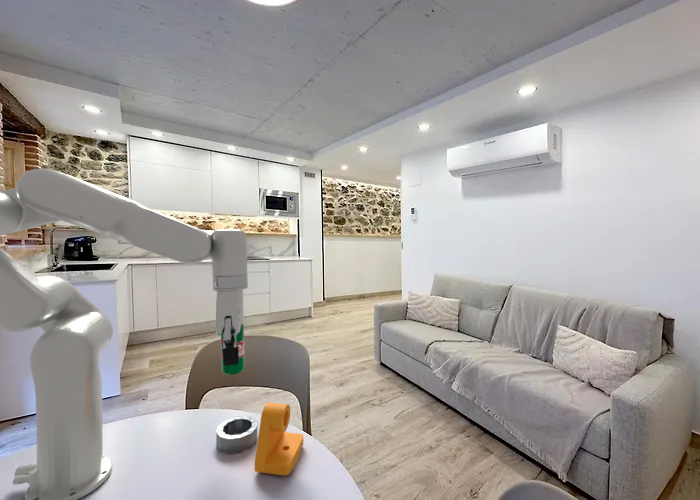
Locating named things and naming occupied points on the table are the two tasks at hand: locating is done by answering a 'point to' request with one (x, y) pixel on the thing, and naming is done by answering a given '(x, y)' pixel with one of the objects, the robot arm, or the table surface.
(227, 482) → the table surface
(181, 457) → the table surface
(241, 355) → the soda can
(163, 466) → the table surface
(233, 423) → the rosette ring
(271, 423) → the bracket
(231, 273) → the robot arm
